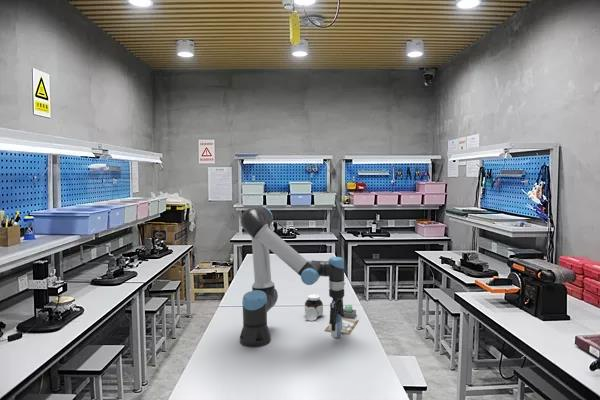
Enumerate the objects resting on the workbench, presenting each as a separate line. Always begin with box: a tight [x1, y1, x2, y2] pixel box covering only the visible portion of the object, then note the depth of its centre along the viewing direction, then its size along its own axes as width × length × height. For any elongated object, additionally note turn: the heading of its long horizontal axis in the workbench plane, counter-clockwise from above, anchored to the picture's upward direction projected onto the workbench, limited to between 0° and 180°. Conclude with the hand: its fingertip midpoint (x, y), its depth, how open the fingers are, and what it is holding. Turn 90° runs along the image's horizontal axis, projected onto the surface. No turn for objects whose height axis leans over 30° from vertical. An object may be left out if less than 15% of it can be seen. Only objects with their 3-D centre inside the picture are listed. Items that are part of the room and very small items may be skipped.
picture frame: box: [324, 318, 360, 336], centre depth 217 cm, size 20×13×1 cm, turn 158°
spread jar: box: [304, 293, 324, 322], centre depth 229 cm, size 12×11×12 cm
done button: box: [344, 304, 353, 313], centre depth 230 cm, size 4×4×4 cm
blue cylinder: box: [333, 314, 342, 339], centre depth 202 cm, size 4×4×11 cm
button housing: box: [342, 308, 357, 319], centre depth 230 cm, size 7×7×3 cm
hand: (336, 332), depth 203 cm, fingers open, 9 cm apart
